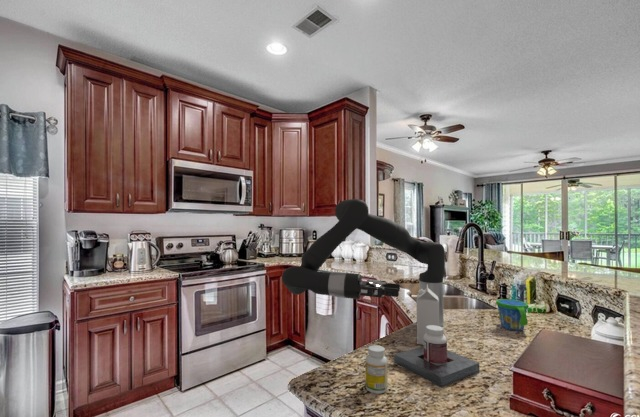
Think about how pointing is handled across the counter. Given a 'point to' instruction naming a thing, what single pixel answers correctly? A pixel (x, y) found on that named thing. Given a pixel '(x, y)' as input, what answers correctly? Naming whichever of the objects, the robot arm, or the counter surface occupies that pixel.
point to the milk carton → (426, 312)
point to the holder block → (440, 374)
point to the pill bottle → (435, 345)
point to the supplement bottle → (376, 370)
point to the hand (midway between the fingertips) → (399, 290)
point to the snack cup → (512, 314)
